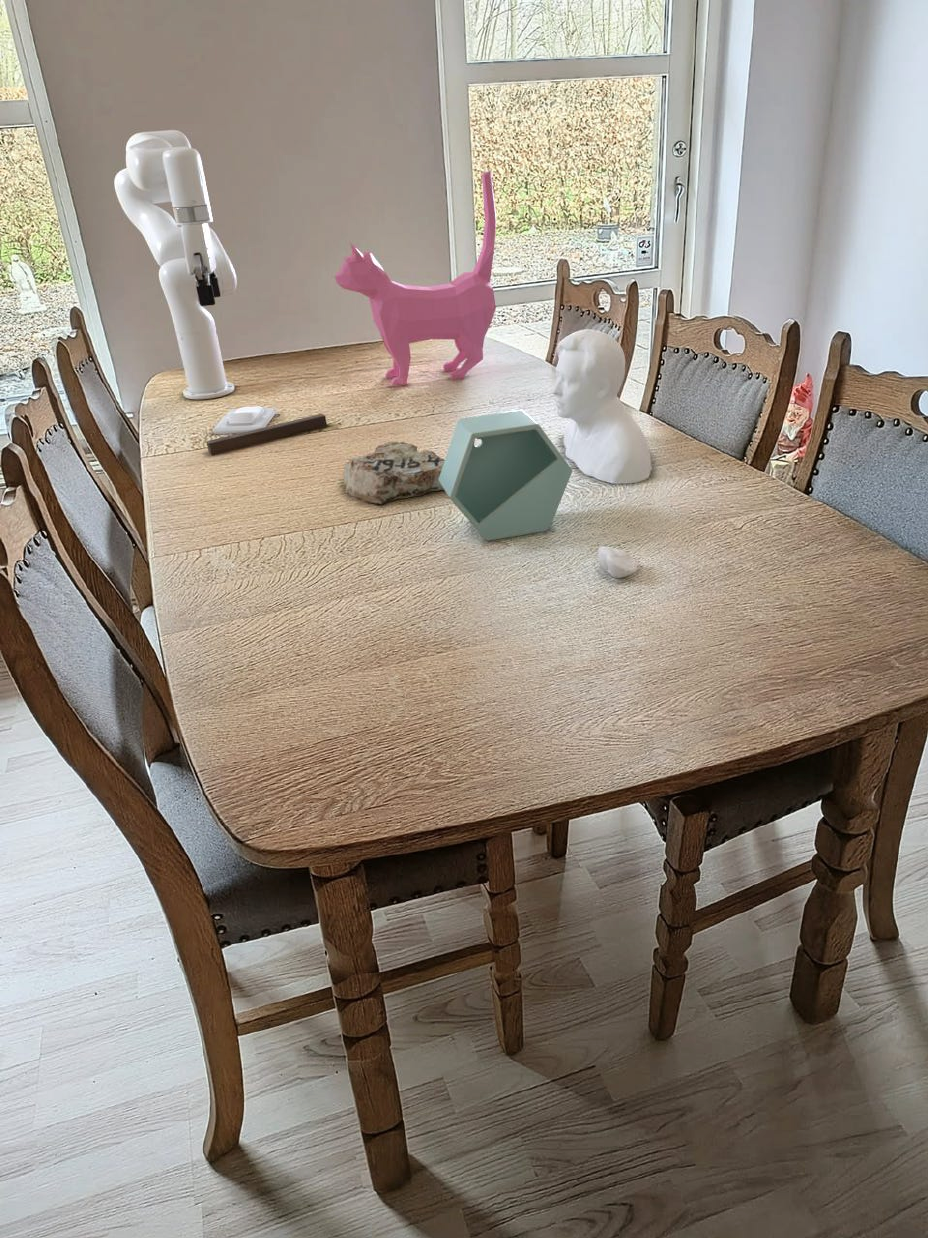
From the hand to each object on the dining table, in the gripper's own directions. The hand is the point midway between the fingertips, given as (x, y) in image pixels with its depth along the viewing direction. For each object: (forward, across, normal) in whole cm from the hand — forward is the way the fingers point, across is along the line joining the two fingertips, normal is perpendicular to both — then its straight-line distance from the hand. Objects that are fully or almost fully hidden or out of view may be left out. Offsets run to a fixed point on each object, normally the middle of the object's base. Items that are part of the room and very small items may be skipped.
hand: (210, 301), depth 189 cm
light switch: (+25, +10, +4) cm, 27 cm away
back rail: (+25, +23, +10) cm, 35 cm away
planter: (+25, +79, +51) cm, 98 cm away
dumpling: (+25, +99, +64) cm, 120 cm away
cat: (+25, -14, +47) cm, 55 cm away
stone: (+25, +53, +34) cm, 68 cm away
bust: (+25, +54, +73) cm, 94 cm away
